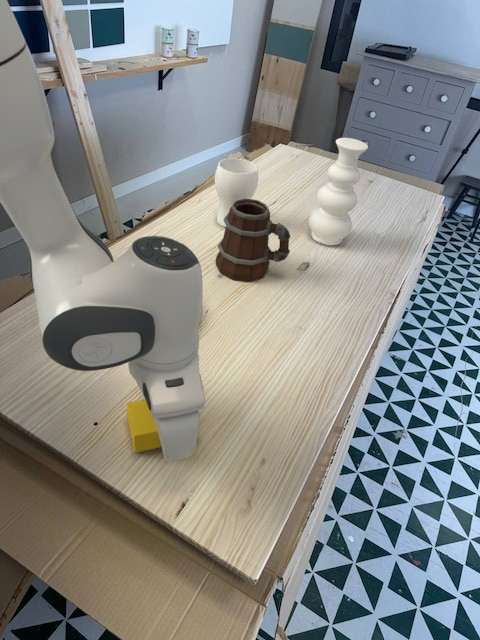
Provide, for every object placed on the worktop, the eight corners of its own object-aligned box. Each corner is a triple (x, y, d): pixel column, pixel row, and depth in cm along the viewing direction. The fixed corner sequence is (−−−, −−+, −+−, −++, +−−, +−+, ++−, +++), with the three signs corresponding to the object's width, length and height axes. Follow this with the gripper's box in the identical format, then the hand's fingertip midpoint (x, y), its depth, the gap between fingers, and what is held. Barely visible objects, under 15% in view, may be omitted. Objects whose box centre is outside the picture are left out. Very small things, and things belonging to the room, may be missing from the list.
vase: (328, 254, 115) (356, 154, 99) (296, 234, 121) (318, 137, 105) (355, 243, 121) (385, 147, 105) (323, 224, 127) (348, 131, 111)
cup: (231, 208, 128) (238, 154, 118) (259, 224, 122) (268, 169, 113) (202, 218, 121) (207, 162, 112) (230, 235, 116) (237, 178, 107)
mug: (208, 273, 102) (214, 211, 93) (227, 248, 112) (234, 189, 102) (276, 293, 100) (290, 231, 90) (290, 265, 109) (303, 207, 99)
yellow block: (134, 453, 66) (134, 436, 63) (127, 420, 70) (126, 402, 68) (196, 439, 69) (197, 422, 66) (185, 408, 73) (186, 391, 71)
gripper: (124, 308, 66) (127, 375, 75) (155, 422, 52) (155, 488, 60) (168, 303, 68) (166, 369, 77) (210, 411, 54) (201, 477, 62)
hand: (161, 422), depth 68 cm, fingers closed on yellow block, 6 cm apart
